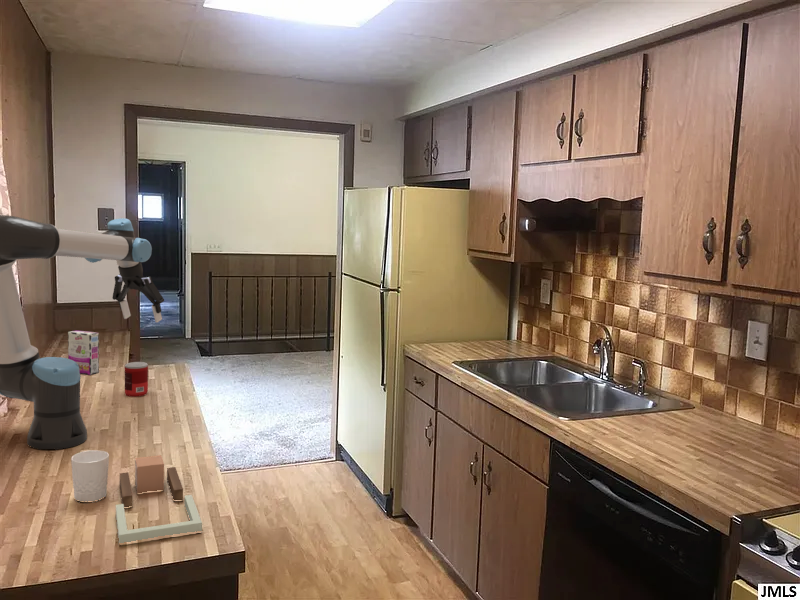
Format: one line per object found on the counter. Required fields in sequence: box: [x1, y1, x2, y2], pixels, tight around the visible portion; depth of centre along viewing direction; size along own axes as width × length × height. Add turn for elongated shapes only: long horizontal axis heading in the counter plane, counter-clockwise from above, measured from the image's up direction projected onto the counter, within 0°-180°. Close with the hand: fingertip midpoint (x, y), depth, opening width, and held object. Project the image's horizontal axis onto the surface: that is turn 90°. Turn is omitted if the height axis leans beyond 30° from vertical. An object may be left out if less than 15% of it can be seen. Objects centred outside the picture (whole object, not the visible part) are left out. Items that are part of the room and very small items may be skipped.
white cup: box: [70, 449, 110, 502], centre depth 152 cm, size 8×8×10 cm
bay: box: [115, 494, 203, 544], centre depth 142 cm, size 16×15×2 cm
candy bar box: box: [67, 329, 100, 376], centre depth 261 cm, size 11×5×16 cm, turn 73°
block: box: [134, 454, 165, 494], centre depth 159 cm, size 6×6×7 cm
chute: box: [119, 466, 184, 507], centre depth 157 cm, size 13×14×3 cm
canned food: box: [124, 361, 149, 398], centre depth 236 cm, size 8×8×11 cm
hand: (143, 319), depth 233 cm, fingers open, 13 cm apart
